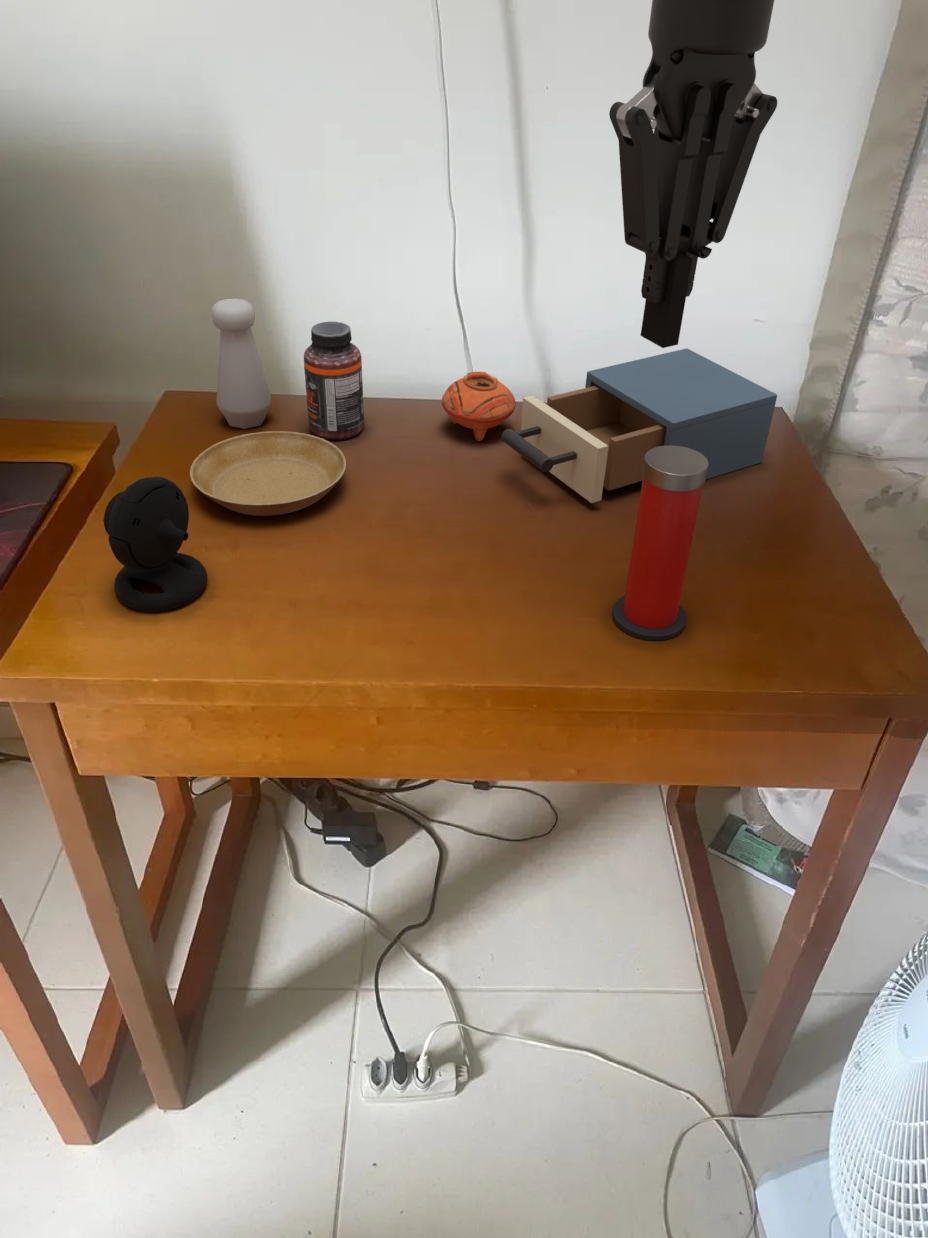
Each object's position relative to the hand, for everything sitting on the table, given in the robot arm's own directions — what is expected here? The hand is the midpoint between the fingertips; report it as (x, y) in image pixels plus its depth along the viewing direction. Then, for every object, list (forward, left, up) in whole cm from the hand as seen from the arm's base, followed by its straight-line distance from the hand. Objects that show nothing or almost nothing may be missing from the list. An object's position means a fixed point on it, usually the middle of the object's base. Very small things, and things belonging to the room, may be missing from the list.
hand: (659, 339), depth 75 cm
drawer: (+7, -13, -19) cm, 25 cm away
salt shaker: (+45, -10, -20) cm, 50 cm away
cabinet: (+1, -22, -20) cm, 30 cm away
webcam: (+35, +20, -20) cm, 45 cm away
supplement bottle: (+35, -12, -20) cm, 42 cm away
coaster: (-4, +8, -20) cm, 22 cm away
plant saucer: (+35, +2, -20) cm, 40 cm away
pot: (+21, -18, -20) cm, 34 cm away
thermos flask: (-4, +8, -20) cm, 21 cm away
